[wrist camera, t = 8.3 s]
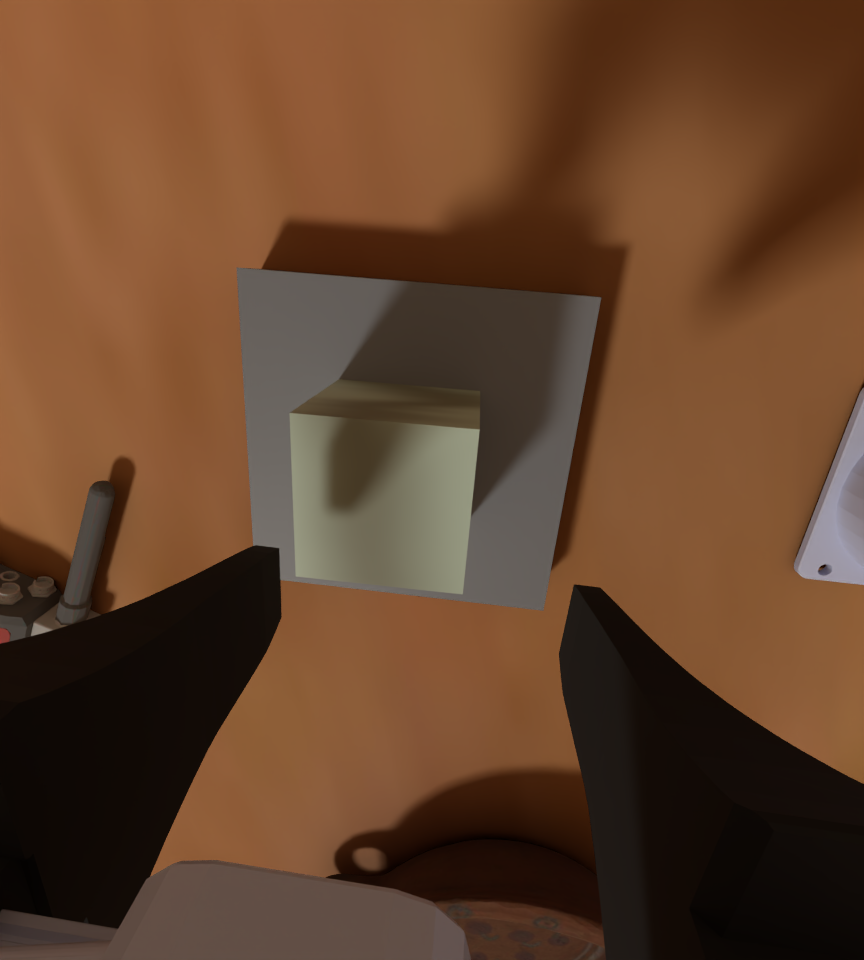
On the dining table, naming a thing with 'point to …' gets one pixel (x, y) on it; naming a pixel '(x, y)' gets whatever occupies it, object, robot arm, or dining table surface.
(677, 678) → the robot arm
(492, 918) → the dish
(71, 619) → the walkie-talkie
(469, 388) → the stand
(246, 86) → the dining table surface
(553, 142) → the dining table surface
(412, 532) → the cube
